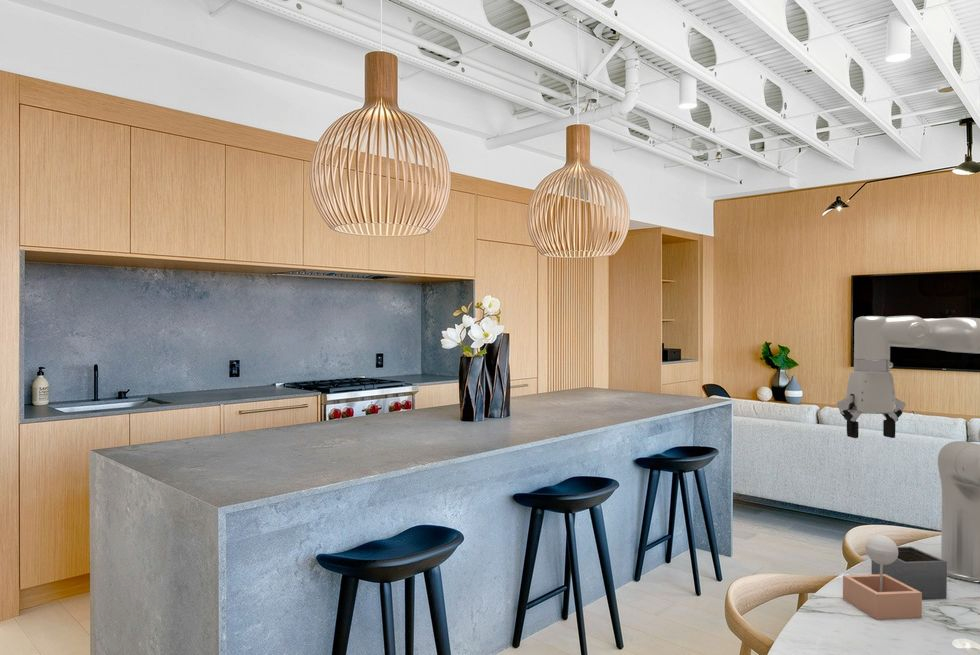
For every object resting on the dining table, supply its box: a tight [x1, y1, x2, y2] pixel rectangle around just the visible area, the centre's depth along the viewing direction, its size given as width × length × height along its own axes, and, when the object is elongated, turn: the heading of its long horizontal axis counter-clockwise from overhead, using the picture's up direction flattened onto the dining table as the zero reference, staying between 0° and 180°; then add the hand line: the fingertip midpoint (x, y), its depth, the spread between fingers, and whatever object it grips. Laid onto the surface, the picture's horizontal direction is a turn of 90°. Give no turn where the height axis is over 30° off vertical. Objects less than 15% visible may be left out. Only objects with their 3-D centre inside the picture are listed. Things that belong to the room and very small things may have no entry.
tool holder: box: [842, 574, 923, 620], centre depth 133 cm, size 10×10×5 cm
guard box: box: [870, 546, 948, 601], centre depth 143 cm, size 10×10×8 cm
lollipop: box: [864, 534, 898, 592], centre depth 133 cm, size 6×6×15 cm
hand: (870, 437), depth 155 cm, fingers open, 9 cm apart
